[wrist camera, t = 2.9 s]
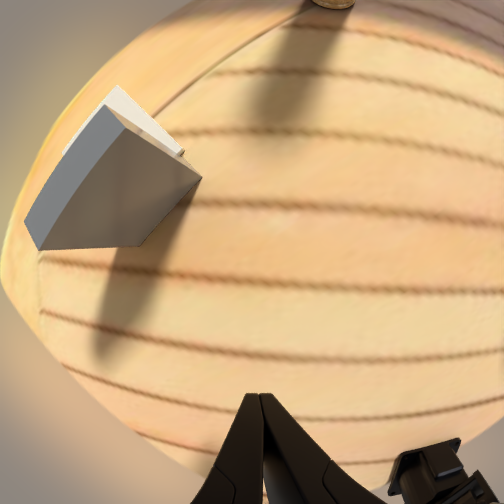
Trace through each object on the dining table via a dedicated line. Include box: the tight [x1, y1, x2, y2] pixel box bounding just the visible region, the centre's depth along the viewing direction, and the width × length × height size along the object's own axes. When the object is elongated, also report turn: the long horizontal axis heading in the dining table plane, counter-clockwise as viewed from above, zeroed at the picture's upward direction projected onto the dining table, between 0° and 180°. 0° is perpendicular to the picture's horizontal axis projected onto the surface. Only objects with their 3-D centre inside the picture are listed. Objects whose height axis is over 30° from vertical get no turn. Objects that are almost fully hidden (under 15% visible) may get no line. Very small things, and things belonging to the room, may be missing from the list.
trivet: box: [62, 85, 185, 156], centre depth 20 cm, size 10×8×1 cm
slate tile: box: [24, 104, 202, 251], centre depth 15 cm, size 2×7×10 cm, turn 133°
